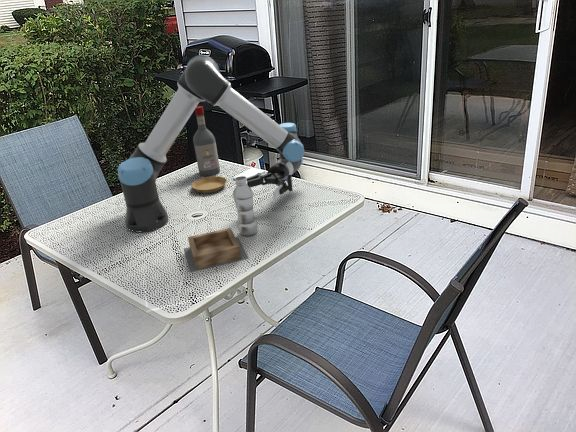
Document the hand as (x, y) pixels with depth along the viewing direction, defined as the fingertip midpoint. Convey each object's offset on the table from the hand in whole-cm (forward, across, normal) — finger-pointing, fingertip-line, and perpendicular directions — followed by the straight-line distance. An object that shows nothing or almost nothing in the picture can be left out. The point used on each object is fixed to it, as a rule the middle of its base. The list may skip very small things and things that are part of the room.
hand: (256, 194), depth 168 cm
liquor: (-43, +45, -11) cm, 63 cm away
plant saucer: (-26, +36, -11) cm, 46 cm away
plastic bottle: (+8, 0, -11) cm, 14 cm away
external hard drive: (-42, +25, -12) cm, 50 cm away
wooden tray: (+23, +5, -10) cm, 26 cm away
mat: (+23, +5, -11) cm, 26 cm away
